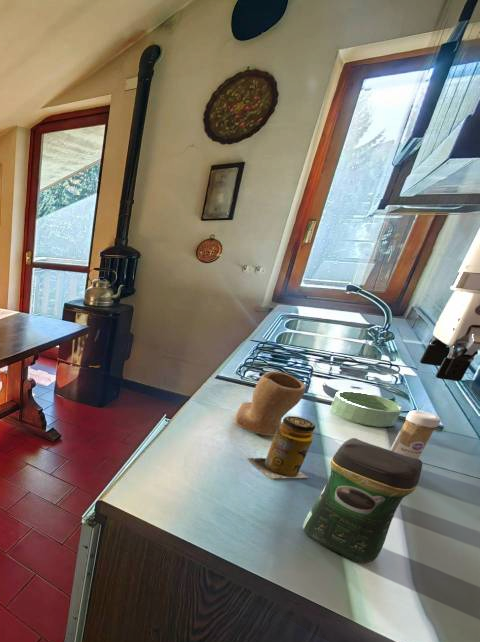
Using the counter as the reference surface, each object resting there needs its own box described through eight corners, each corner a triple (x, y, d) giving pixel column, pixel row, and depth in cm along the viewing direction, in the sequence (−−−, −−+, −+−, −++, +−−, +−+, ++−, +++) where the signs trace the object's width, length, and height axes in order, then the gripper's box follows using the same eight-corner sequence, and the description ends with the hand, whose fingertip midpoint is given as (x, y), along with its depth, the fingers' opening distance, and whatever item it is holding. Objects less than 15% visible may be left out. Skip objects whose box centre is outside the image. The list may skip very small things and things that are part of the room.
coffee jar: (382, 550, 65) (436, 456, 57) (367, 572, 61) (423, 474, 53) (311, 515, 72) (351, 429, 65) (293, 533, 68) (334, 443, 61)
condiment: (308, 478, 83) (330, 429, 78) (270, 479, 82) (289, 430, 77) (281, 458, 89) (300, 412, 84) (246, 459, 89) (262, 412, 84)
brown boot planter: (284, 445, 94) (306, 389, 88) (228, 428, 102) (245, 375, 96) (291, 423, 105) (311, 371, 99) (239, 409, 112) (255, 360, 106)
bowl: (387, 414, 110) (395, 398, 108) (399, 433, 100) (408, 416, 98) (326, 402, 117) (333, 386, 115) (332, 419, 107) (339, 403, 105)
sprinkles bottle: (395, 473, 84) (425, 419, 79) (376, 461, 88) (403, 409, 83) (417, 474, 84) (448, 419, 79) (397, 462, 88) (425, 409, 83)
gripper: (544, 293, 62) (486, 390, 69) (495, 279, 75) (450, 363, 82) (473, 288, 66) (425, 381, 72) (438, 276, 79) (400, 356, 85)
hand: (438, 371), depth 77 cm, fingers open, 9 cm apart
